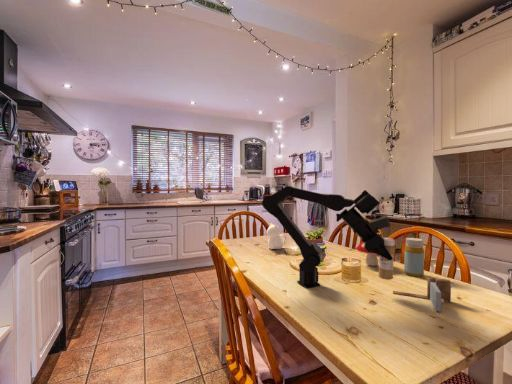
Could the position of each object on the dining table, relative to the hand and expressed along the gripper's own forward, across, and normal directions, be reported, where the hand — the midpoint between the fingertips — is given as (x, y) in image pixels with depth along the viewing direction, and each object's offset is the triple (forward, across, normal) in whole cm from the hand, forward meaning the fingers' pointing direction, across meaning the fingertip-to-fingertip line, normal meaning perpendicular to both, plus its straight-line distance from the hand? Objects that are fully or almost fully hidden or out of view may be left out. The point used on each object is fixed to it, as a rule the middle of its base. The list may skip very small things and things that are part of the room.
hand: (390, 257), depth 86 cm
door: (+18, -4, 0) cm, 18 cm away
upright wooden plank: (+16, +3, +2) cm, 16 cm away
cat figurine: (-28, +48, +49) cm, 74 cm away
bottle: (+18, +27, 0) cm, 32 cm away
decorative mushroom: (+7, +34, +12) cm, 36 cm away
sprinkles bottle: (+4, 0, +6) cm, 7 cm away
